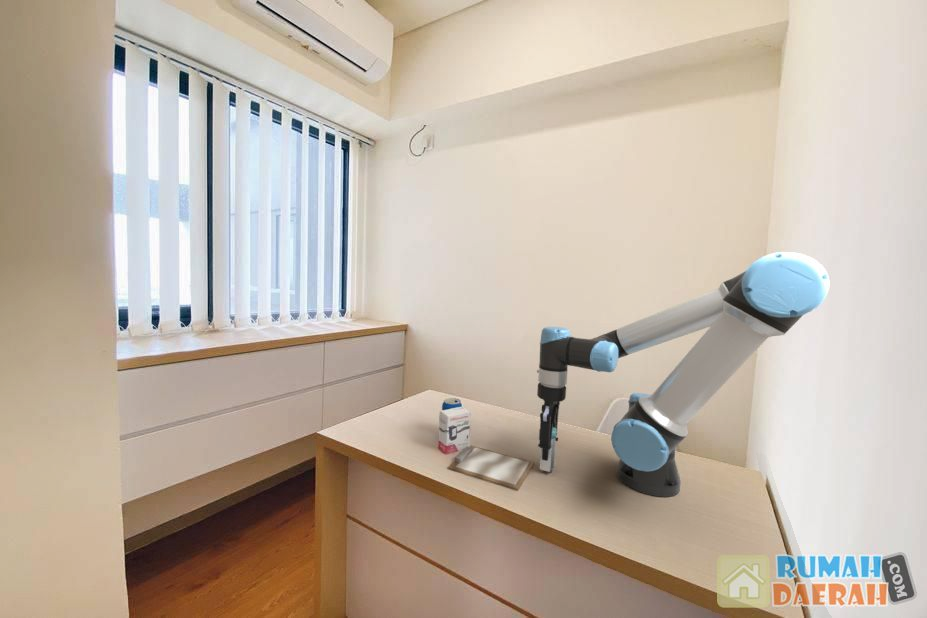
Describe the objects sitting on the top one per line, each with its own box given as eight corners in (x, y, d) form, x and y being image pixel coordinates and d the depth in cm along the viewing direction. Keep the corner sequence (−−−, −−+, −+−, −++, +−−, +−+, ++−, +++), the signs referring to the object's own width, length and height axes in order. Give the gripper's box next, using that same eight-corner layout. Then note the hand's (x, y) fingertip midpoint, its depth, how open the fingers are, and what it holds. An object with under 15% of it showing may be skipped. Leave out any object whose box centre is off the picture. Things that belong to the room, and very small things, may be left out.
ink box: (446, 455, 104) (447, 416, 103) (437, 448, 108) (439, 410, 107) (469, 448, 108) (471, 411, 108) (460, 441, 113) (462, 406, 112)
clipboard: (533, 463, 101) (534, 458, 100) (517, 490, 87) (518, 484, 87) (470, 446, 109) (471, 441, 109) (447, 468, 96) (447, 462, 96)
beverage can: (464, 437, 116) (465, 402, 115) (447, 442, 112) (449, 405, 111) (453, 430, 121) (455, 396, 120) (437, 434, 117) (438, 399, 116)
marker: (555, 469, 98) (557, 427, 97) (552, 475, 95) (554, 432, 94) (539, 464, 100) (541, 423, 99) (535, 471, 97) (538, 428, 96)
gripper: (545, 375, 105) (540, 450, 106) (530, 389, 90) (525, 476, 92) (571, 379, 101) (566, 457, 103) (560, 394, 87) (554, 485, 88)
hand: (546, 466), depth 97 cm, fingers closed on marker, 3 cm apart
